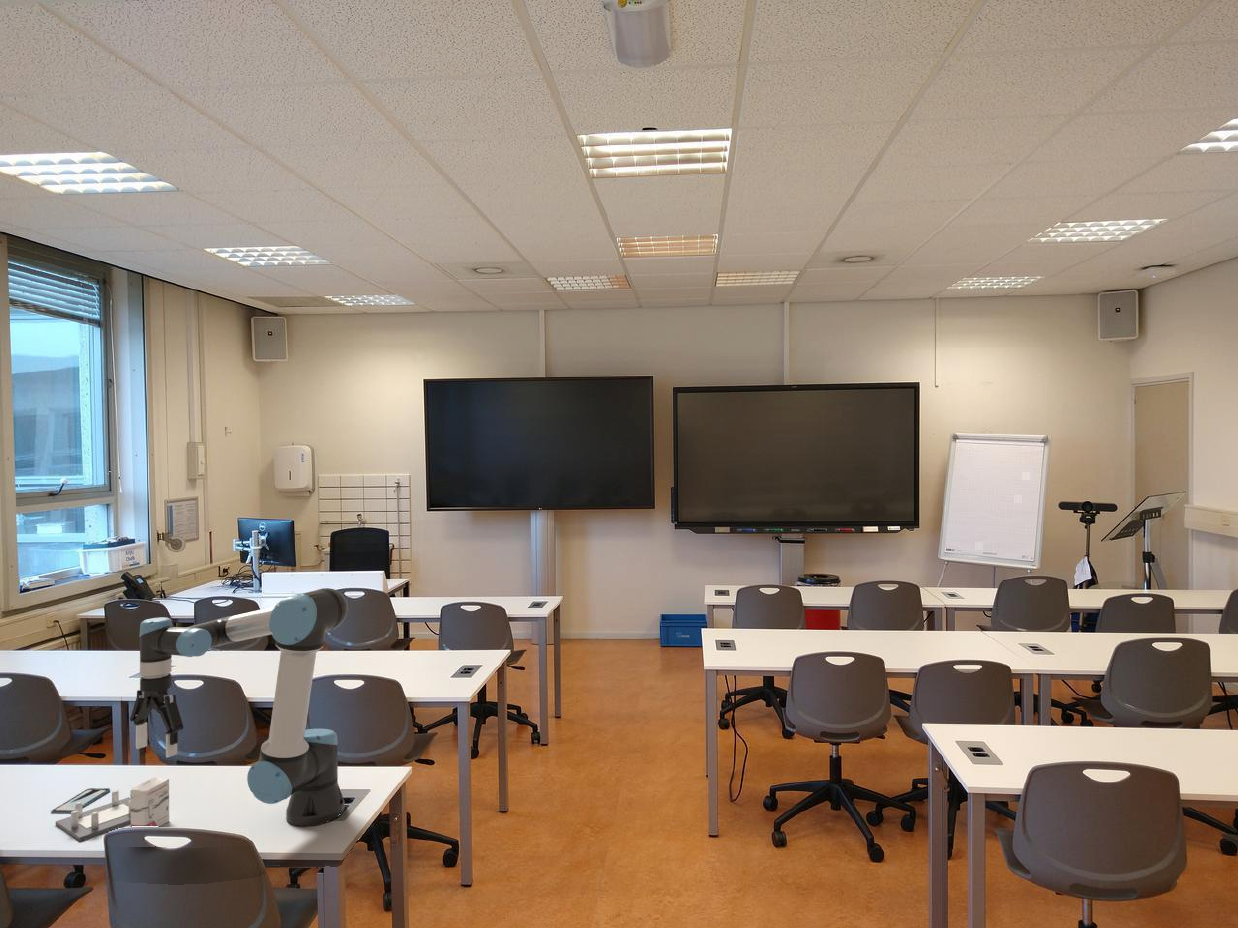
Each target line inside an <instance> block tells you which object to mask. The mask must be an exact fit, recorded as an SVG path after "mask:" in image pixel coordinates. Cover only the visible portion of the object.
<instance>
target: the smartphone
mask: <svg viewBox="0 0 1238 928" xmlns="http://www.w3.org/2000/svg"><path fill="white" fill-rule="evenodd" d="M110 792H111V788H109V787H107V788H105V787H103V788H102V787H101V788H100V787H94V788H93V787H90V788H86V789H85V790H83V791H81V792H80V793H78V794H76V795H75V796H73V797H71V798H70V799H68V800H67V801H65V802H63V803H61V804H60V805H59V806H57V807H55V808H54V809H51V811H50V813H51V814H71V812H72V811H75V803H77V802H82V809H84V808H85V807H87V806H89V805H90V804H92V803H94V802H95V801H97V800H99V799H101V798H102V797H103V796H105V795H107V794H108V793H110Z"/></svg>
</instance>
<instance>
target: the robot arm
mask: <svg viewBox="0 0 1238 928" xmlns="http://www.w3.org/2000/svg"><path fill="white" fill-rule="evenodd" d="M348 605H349V604H348V601H347V599H346V597H345V596H344V594H343V593H341V592H340V591H339V590H338V589H335V588H329V587H326V588H325V587H324V588H319V589H316V590H311V591H307V592H303V593H297V594H292V595H290V596H288V597H286V598H283V599H282V600H280V601H279V602H278V603H276V605H274V606H270V607H266V608H262V609H257V610H253V611H252V610H251V611H249V612H248V611H247V612H245V613H240V614H236V615H230V616H223V617H220V618H217V619H214V620H210V621H206V622H202V623H198V624H193V625H190V626H187V627H185V626H184V627H178V626H177V627H176V626H173V624H172V623H173V622H172V619H171V618H170V617H166V616H165V617H163V616H162V617H153V618H147V619H144V620H142V621H141V622H140V625H139V626H140V627H139V635H138V637H139V676H140V678H139V689H137V690H136V699H135V702H134V705H133V708H132V711H131V713H130V717H129V718H130V719H129V721H130V722H133V725H135V749H136V750H139V749H142V748H145V747H147V746H148V722H147V721H148V720H147V718H148V717H149V716H150V713H151V712H152V710H153V711H156V713H158V714H159V715H160V718H161V720H162V722H163V724H164V726H165V728H166V732H165V758H171V757H174V756H177V755H178V740H179V739H178V737H179V734H178V732H179V731H181V730H182V731H183V729H184V724H183V721H182V716H181V713H180V710H179V707H178V704H177V695H176V694H175V693H172V694H169V692H168V690H169V689H171V688H172V685H173V682H172V681H173V678H172V677H173V674H172V673H171V672H172V667H173V666H172V663H173V661H172V656H176V657H177V656H178V657H180V656H181V657H186V658H192V657H193V658H194V657H201V656H204V655H205V654H206V653H207V652H208V651H209V650H210V649H213V648H216V647H220V646H224V645H228V644H233V643H238V642H241V641H242V642H243V641H246V640H250V639H255V638H259V637H260V638H261V637H265V636H270V635H271V636H272V638H273V639H274V640H275V647H277V649H279V651H280V657H279V661H278V671H277V675H276V676H277V677H276V684H275V691H274V697H273V698H274V699H273V705H272V706H273V707H272V713H271V720H270V721H271V722H270V726H269V735H268V739H267V740H265V741H264V742H263V743H262V744H261V746H260V751H259V760H257V761H255V762H254V764H252V765H251V766H250V767H249V769H248V772H247V777H246V779H247V785H248V788H249V791H250V792H251V793H252V794H253V796H254V798H256V799H257V800H258V801H260V802H261V803H263V804H267V805H275V804H278V803H280V802H282V801H284V800H287V799H288V798H289V801H288V804H287V807H286V813H285V818H286V819H285V821H286V822H287V823H289V824H290V825H293V826H297V825H300V826H299V827H309V826H310V825H313V826H318V825H317V824H319V825H322V824H321V823H323V824H326V823H328V822H327V821H329V822H331V821H330V820H332V819H334V818H335V817H337V816H338V815H339V814H341V813H342V812H343V810H344V811H345V799H344V797H343V794H342V791H341V787H340V785H339V781H338V779H339V778H338V776H339V775H338V773H339V771H338V770H339V769H338V767H339V766H338V764H339V762H338V760H339V759H338V749H339V748H338V746H339V743H338V734H337V732H335V731H334V730H333V729H329V728H310V729H309V728H307V729H306V726H307V720H308V713H309V706H310V698H311V691H312V686H313V679H314V671H315V664H316V657H317V653H318V652H319V651H320V650H321V649H323V648H324V644H325V636H326V633H327V632H328V633H329V632H331V631H333V630H335V629H337V628H338V627H340V626H341V625H342V624H343V622H345V620H346V618H347V617H348V612H349V606H348ZM343 813H344V812H343ZM343 813H342V814H343ZM342 814H341V815H342ZM337 818H338V817H337ZM334 820H335V819H334ZM332 821H333V820H332ZM325 822H326V823H325ZM310 827H311V826H310Z"/></svg>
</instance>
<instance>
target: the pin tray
mask: <svg viewBox="0 0 1238 928" xmlns="http://www.w3.org/2000/svg"><path fill="white" fill-rule="evenodd" d="M119 791H120V790H118V789H116V790H112V791H111V802H110V803H108V804H104V805H102V806H101V805H100V806H99V807H95V808H92V809H89V810H85V811H83V808H82V802H77V803H75V811H72V812H71V813H70V816H68V817H65V818H60V819H58V820H56V821H55V826H56V827H58V828H59V829H61V830H62V831H64V832H66V833H67V834H68V835H69V836H71V837H72V838H74V839H75V840H77V841H78V842H82V841H85V840H87V839H91V838H93V837H95V836H100V835H102V834H104V833H108V832H109V831H108V830H110V831H112V830H111V829H113V830H115V829H114V828H116V829H119V828H121V827H124V826H127V825H131V803H130V796H129V797H125V798H122V799H119V797H120V796H119V795H120V794H119ZM107 831H108V832H107Z"/></svg>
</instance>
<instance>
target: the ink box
mask: <svg viewBox="0 0 1238 928" xmlns="http://www.w3.org/2000/svg"><path fill="white" fill-rule="evenodd" d="M129 794H130V795H129V798H130V803H131V823H130V828H131V827H132V826H160V827H162V826H164V825H165V824H166V823H168V822H169V821H170V779H169V778H161V777H152V778H150V779H148V780H146V781H145V782H141V783H140V784H138V785H136V786H134V787H133V788H131V790H130V792H129Z"/></svg>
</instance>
